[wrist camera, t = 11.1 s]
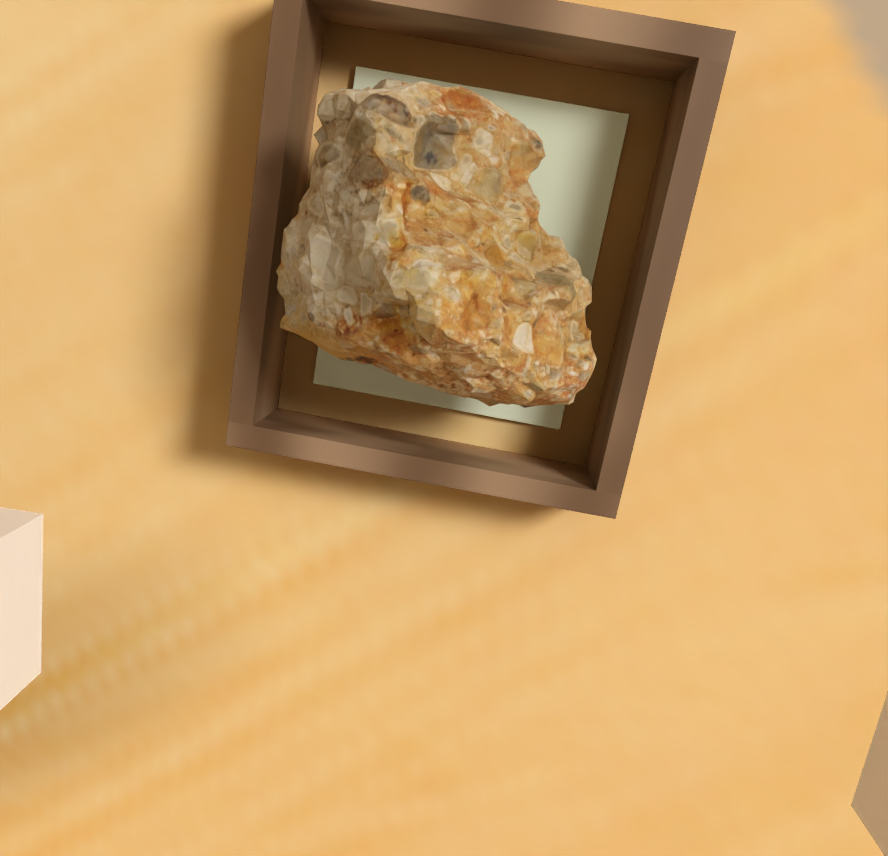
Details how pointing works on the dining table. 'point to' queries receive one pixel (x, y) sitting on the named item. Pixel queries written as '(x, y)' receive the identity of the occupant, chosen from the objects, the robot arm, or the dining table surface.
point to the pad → (561, 215)
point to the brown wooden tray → (651, 278)
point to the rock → (435, 249)
